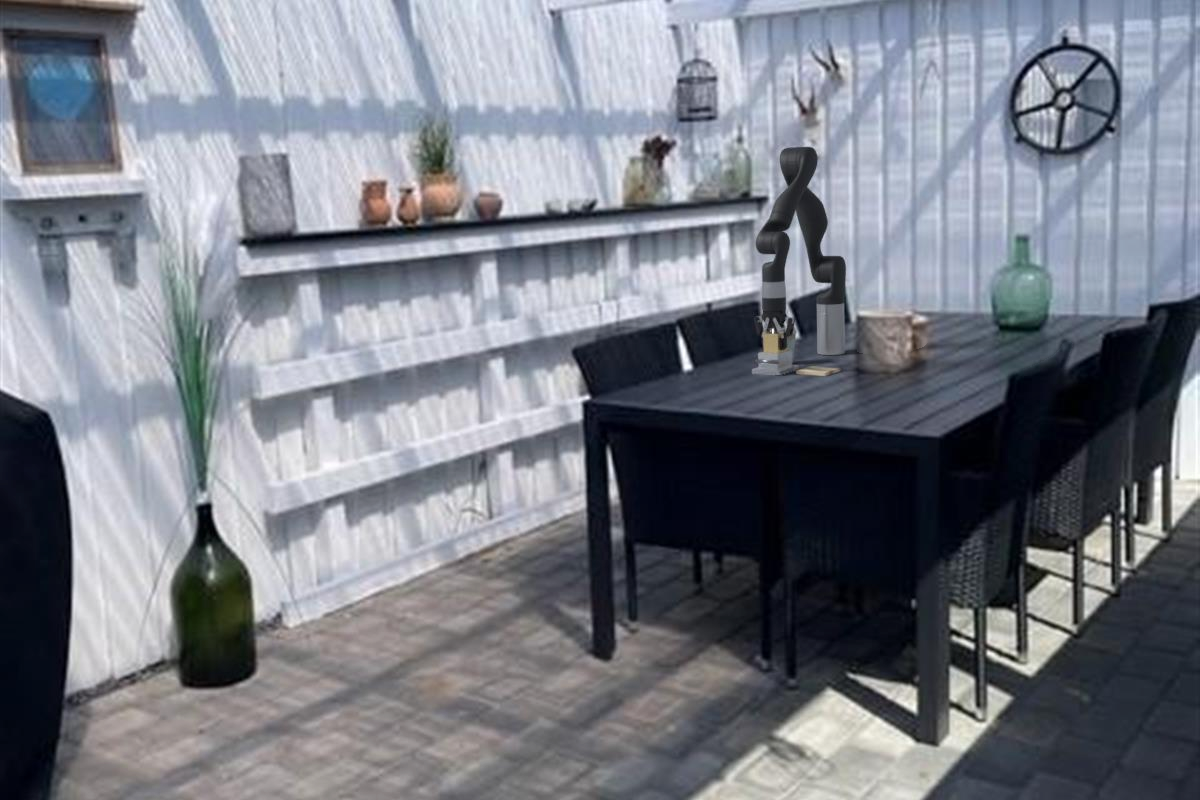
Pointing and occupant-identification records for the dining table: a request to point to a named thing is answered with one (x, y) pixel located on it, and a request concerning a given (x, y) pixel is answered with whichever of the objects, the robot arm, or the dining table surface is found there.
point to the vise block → (774, 362)
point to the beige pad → (818, 371)
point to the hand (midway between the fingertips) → (774, 349)
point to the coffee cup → (791, 342)
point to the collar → (772, 343)
